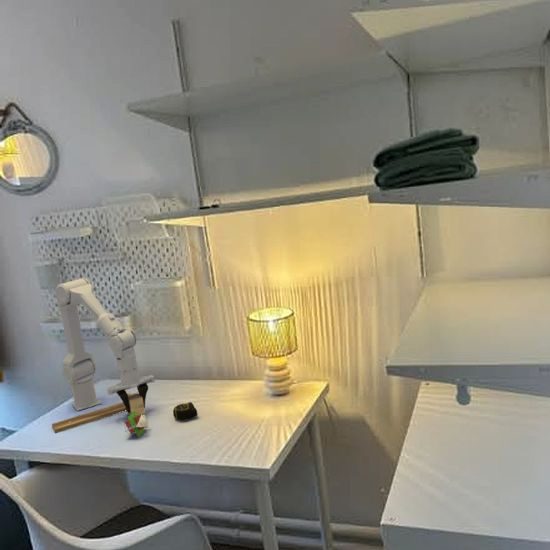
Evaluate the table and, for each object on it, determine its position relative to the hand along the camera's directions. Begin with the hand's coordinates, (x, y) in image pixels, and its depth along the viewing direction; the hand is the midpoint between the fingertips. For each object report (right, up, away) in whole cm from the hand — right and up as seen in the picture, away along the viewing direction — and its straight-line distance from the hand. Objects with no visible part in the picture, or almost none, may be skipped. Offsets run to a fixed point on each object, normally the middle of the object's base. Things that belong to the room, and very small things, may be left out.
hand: (135, 409), depth 190 cm
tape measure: (+17, -1, -7) cm, 19 cm away
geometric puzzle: (+4, -4, -14) cm, 16 cm away
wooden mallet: (-2, -1, +3) cm, 4 cm away
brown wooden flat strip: (-13, -3, +4) cm, 14 cm away
